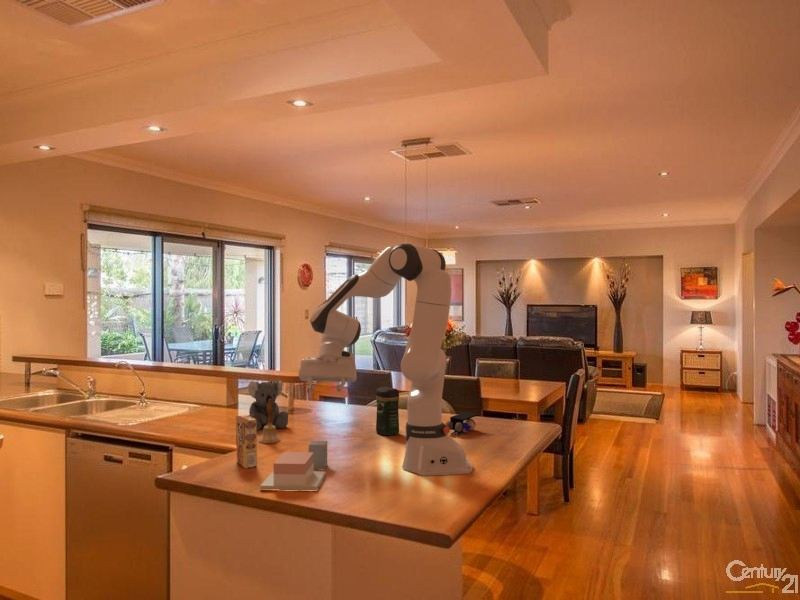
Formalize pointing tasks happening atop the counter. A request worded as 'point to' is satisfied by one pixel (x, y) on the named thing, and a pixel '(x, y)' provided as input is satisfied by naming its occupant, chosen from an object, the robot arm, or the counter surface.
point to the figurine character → (461, 422)
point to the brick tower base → (295, 487)
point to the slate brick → (319, 453)
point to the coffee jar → (387, 411)
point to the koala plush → (259, 407)
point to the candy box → (246, 441)
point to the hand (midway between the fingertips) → (325, 390)
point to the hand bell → (269, 427)
